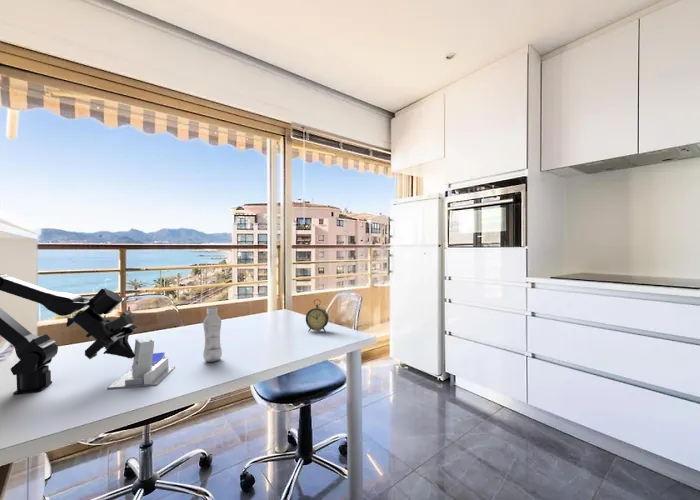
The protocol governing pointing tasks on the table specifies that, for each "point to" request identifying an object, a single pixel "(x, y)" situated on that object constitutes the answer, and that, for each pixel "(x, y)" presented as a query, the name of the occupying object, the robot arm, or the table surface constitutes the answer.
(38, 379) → the robot arm
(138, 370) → the skincare box
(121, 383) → the rail base
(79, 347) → the table surface
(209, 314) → the plastic bottle
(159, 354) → the hard drive
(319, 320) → the alarm clock
